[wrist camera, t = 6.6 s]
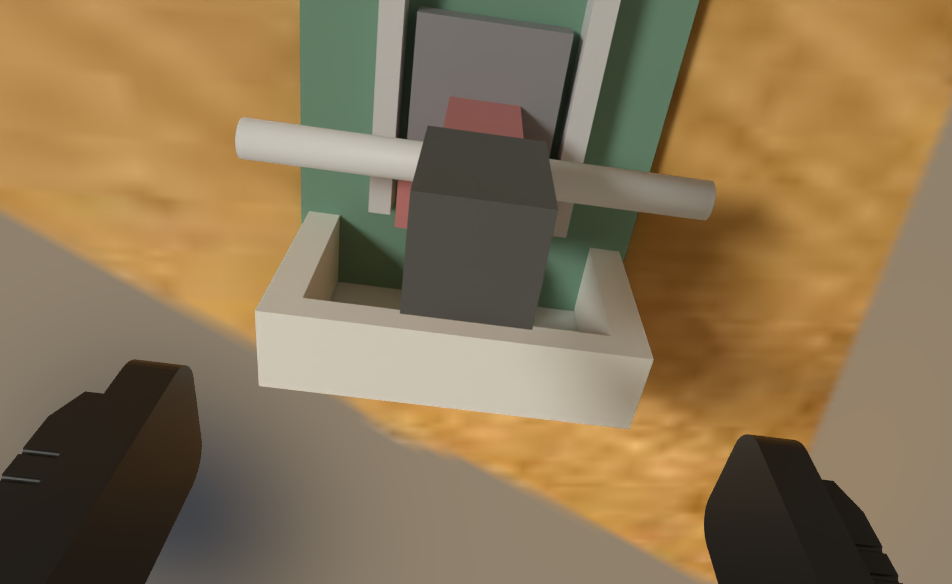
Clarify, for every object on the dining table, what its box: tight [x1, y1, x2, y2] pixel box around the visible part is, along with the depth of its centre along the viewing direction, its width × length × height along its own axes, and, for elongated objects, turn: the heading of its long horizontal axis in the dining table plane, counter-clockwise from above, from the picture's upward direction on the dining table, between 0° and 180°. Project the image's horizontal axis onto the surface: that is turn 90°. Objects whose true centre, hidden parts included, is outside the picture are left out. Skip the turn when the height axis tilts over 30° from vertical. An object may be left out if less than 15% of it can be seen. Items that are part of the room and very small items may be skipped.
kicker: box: [235, 6, 716, 330], centre depth 19 cm, size 6×14×11 cm, turn 82°
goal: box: [255, 211, 654, 429], centre depth 25 cm, size 4×12×7 cm, turn 82°
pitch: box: [300, 0, 699, 311], centre depth 23 cm, size 22×13×2 cm, turn 172°
